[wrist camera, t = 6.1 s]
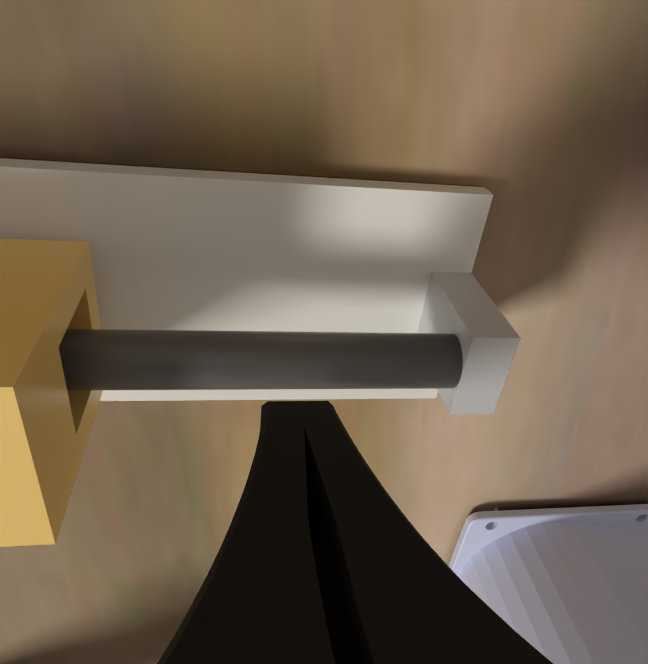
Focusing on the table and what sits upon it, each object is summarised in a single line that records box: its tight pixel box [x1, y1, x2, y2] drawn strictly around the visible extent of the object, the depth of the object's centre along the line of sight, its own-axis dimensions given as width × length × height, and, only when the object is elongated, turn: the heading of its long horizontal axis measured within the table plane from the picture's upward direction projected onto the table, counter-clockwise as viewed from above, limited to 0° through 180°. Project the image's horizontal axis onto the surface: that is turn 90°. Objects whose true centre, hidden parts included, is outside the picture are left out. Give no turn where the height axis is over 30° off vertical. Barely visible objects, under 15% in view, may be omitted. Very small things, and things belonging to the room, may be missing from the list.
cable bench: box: [0, 158, 521, 415], centre depth 13 cm, size 18×7×5 cm, turn 84°
